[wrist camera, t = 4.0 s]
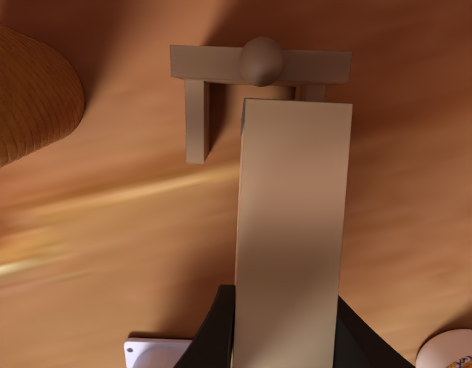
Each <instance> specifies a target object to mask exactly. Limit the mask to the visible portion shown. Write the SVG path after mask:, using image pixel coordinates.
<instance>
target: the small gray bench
mask: <svg viewBox="0 0 472 368" xmlns="http://www.w3.org/2000/svg"><path fill="white" fill-rule="evenodd" d="M352 54H353V52H347V51H321V50H294V49H282V48H281V47H280V45H279V44H278V43H277V42H276V41H275V40H273V39H271V38H268V37H257V38H254V39H252V40H250V41H249V42H248V43H247V44H246V45H245V46H244V47H243V48H240V47H214V46H187V45H170V61H171V76H172V77H175V78H179V79H182V80H185V115H186V160H187V163H200V164H204V162H205V160H206V158H207V157H208V155H209V98H210V83H211V84H238V85H254V86H258V87H264V86H291V87H296V92H295V100H296V101H316V102H324V99H325V91H326V86H327V85H335V84H343V83H348V80H349V73H350V67H351V60H352Z"/></svg>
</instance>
